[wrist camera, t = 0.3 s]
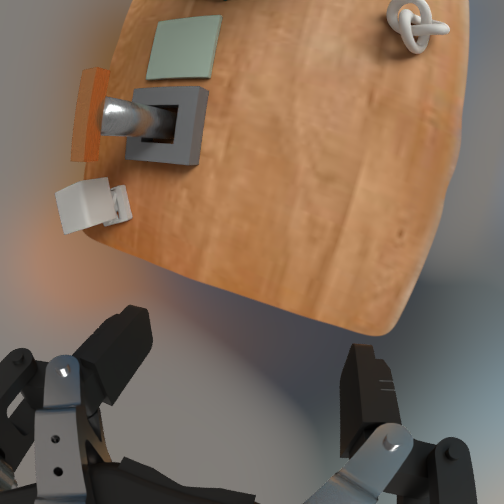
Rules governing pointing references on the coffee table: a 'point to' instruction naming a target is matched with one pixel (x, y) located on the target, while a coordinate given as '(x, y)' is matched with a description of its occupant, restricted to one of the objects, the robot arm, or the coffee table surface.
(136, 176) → the coffee table surface
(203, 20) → the pad
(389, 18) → the knot
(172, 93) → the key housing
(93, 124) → the t key
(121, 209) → the security camera
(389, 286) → the coffee table surface
